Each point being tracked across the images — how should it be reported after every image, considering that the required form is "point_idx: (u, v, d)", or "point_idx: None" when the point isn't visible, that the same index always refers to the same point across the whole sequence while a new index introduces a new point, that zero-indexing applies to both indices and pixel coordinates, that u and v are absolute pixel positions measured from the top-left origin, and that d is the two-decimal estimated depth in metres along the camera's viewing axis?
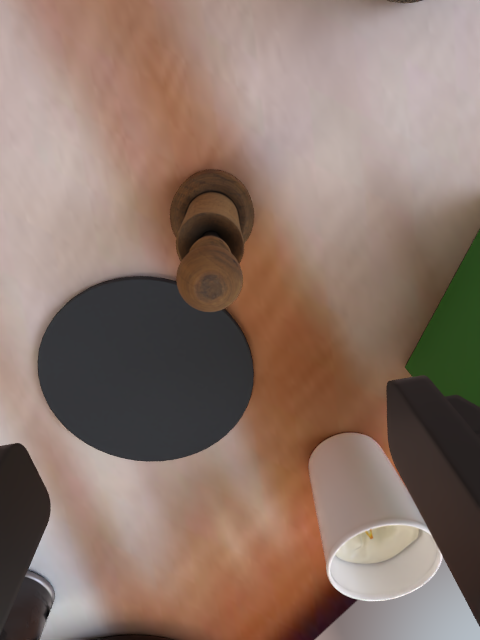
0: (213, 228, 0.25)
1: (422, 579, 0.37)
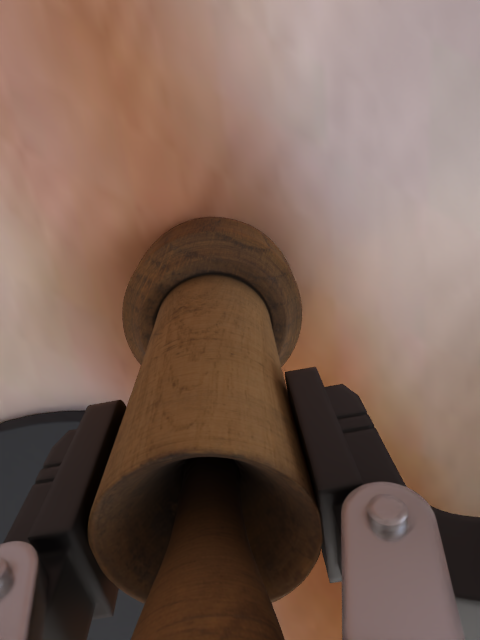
0: None
1: None
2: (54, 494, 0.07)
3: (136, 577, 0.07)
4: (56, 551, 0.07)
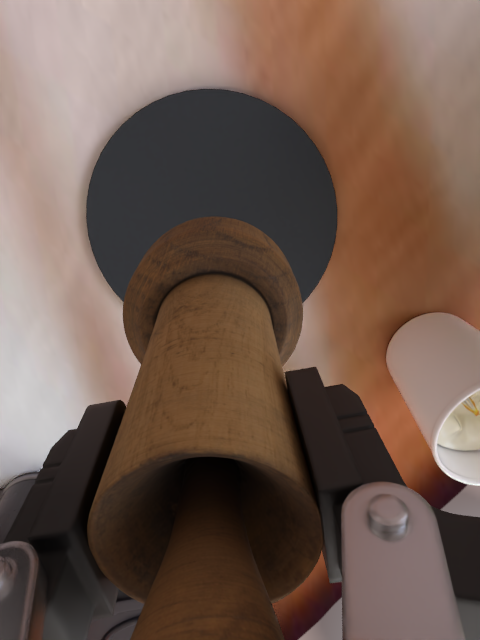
0: None
1: None
2: (54, 494, 0.07)
3: (136, 577, 0.07)
4: (56, 551, 0.07)
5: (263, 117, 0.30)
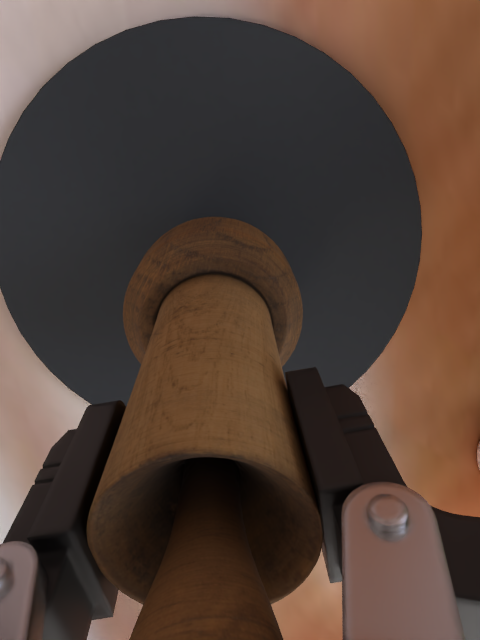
0: None
1: None
2: (53, 494, 0.07)
3: (135, 578, 0.07)
4: (56, 551, 0.07)
5: (301, 71, 0.17)
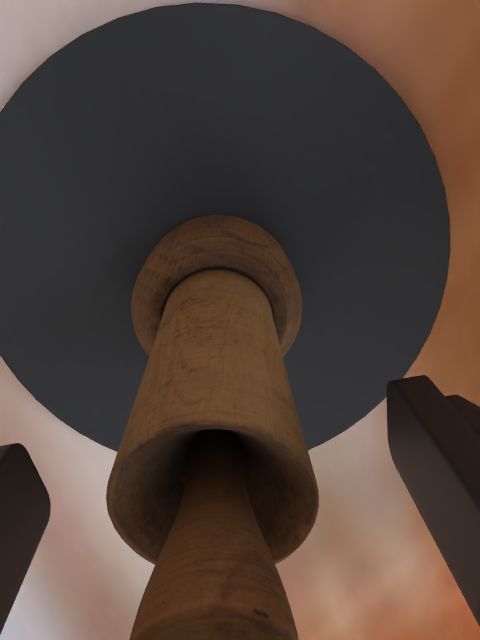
0: (223, 429, 0.09)
1: None
2: None
3: (149, 540, 0.08)
4: None
5: (318, 67, 0.15)
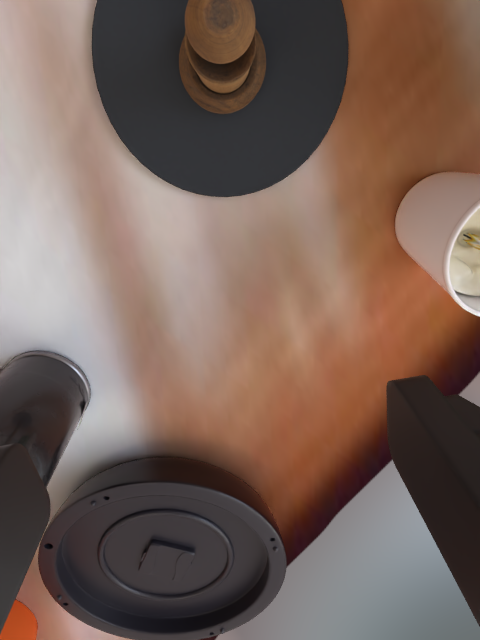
0: None
1: None
2: None
3: (197, 64, 0.24)
4: None
5: None
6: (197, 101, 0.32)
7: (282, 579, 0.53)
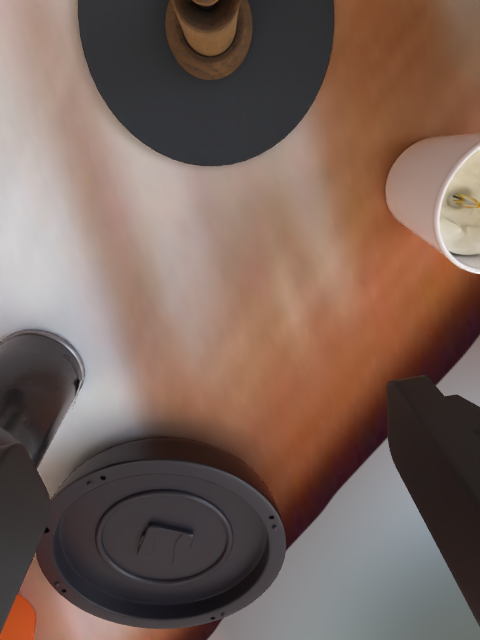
0: None
1: None
2: None
3: (183, 13, 0.24)
4: None
5: None
6: (184, 65, 0.32)
7: (282, 559, 0.52)
